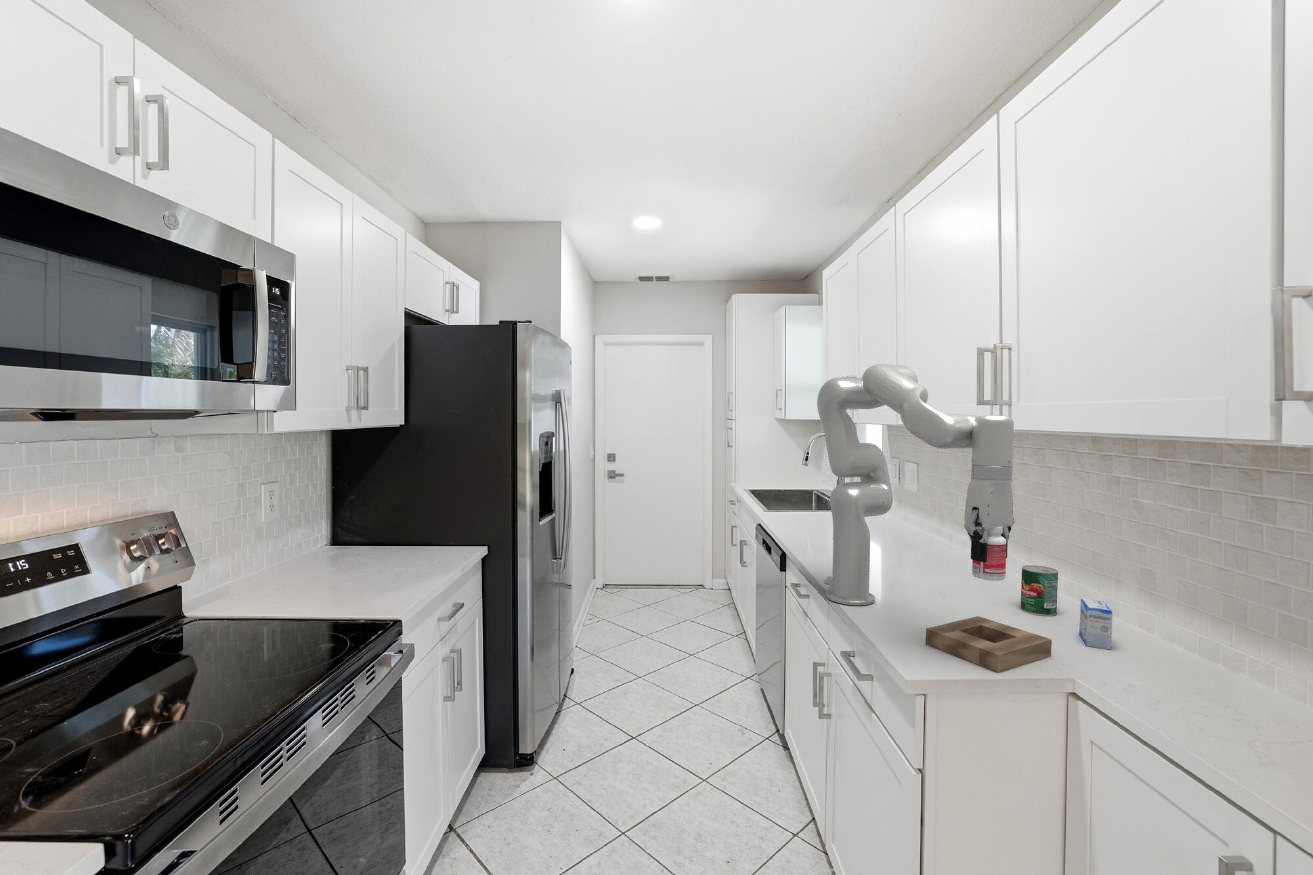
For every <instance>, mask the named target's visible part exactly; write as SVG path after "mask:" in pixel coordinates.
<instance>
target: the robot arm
mask: <svg viewBox="0 0 1313 875" xmlns="http://www.w3.org/2000/svg"><path fill="white" fill-rule="evenodd" d="M928 400H929V392H928V389H927V388H926V387H925V386H924V385H922V384H921V383H919V381H918V376H917V374H916V372H915V371H914V370H913V369H912V368H911V367H908V366H906V365H903V364H902V365H901V364H888V363H875V364H873V365H870V366H869V367H868V368H867V369H865V370H864V371H863V374H862V376H861V378H860V377H848V376H847V377H846V376H842V377H834V378H831V379H829V380H827V381H825V382H824V384H822V386H821V387H820V389H819V392H818V395H817V399H816V406H817V407H816V408H817V412H818V417H819V418H820V419H819V420H820V422H821V426H822V428H823V432H824V441H825V445H826V446H825V447H826V452H827V458H828V463H829V467H830V470H831V472H832V473H833V475H834V476H836V477H838V478H847V479H848V478H851V479H852V478H859V480H860V481H851V482H850V481H849V482H844V483H840V484H838V485H836V486H835V487H834V488H833V489H832V490H831V492H830V497H829V504H830V511H831V516H832V529H833V530H832V532H833V533H832V534H833V535H832V536H833V537H832V541H833V542H832V546H833V547H832V576H831V575H829V576H827V577H826V578H825V579H824V580H823V584H824V585H827V586H829V589H828V590H827V591H826V592H825V596H826V598H827V599H828V600H830V601H832V602H834V603H838V604H842V605H847V606H869V605H873V604H874V603H875V601H876V596H875V595H874V594H873V593H871V592H870V572H871V571H870V569H871V568H870V566H871V565H870V564H871V563H870V562H871V533H870V532H871V531H870V528H869V526H868V524H867V522H866V519H865V518H866V517H878V516H883V515H886V514H887V513H888V512H889V511H890V510H891V508H892V505H893V502H894V501H893V497H894V496H893V491H892V490H893V489H892V484H891V479H890V473H889V468H888V464H887V459H886V456H885V454H884V451H882V449H881V448H880V447H879V446H878V445H876V444H874V443H870V442H860V441H859V437H858V431H857V426H856V425H855V422H854V420H853V419H852V417H851V416H850V415H849V413H848V412H847V410H848V409H850V410H851V409H852V410H872V409H877V408H881V407H883V406H886V407H888V408H889V409H891V410H892V411H894V412H895V413H896V414H898V415H899V416H900V420H901V422H902V424H903V425H904V427H905V429H906V430H907V431H908V432H909V433H911V434H912V435H914V436H915V437H916V438H918V439H919V440H920V441H922V442H924V443H925V444H926V445H928V446H931V447H933V448H937V449H971V469H970V471H971V472H970V477H971V478H970V480H969V482H968V486H967V491H966V498H965V506H964V507H965V509H964V525H963V527H964V529H965V531H966V532H967V535H968V536H969V541H970V542H971V543H970V559H971V560H976V561H980V562H986V561H987V543H985V540H986V537H987V533H988V530H989V529H994V528H997V527H1003V532H1002V534H1001V536H1002V537H1004V538H1005V539H1006V559H1007V558H1008V548H1009V547H1008V546H1009V545H1008V543H1009V542H1008V540H1010V533H1011V531H1012V528H1013V526H1014V524H1015V522H1016V520H1015V518H1014V496H1013V495H1014V494H1013V485H1012V483H1013V461H1014V433H1015V432H1014V430H1015V424H1014V423H1015V422H1014V419H1013V418H1012V417H1010V416H1008V415H995V414H994V415H992V414H991V415H989V414H987V415H986V414H985V415H974V414H957V413H943V412H940V411H938V410H936V409H935V408H933V407H931V406H930V405H928V404H927V402H928ZM978 525H982V527H979V526H978ZM978 530H979V531H982V532H981V535H980V533H979V532H978Z"/></svg>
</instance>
